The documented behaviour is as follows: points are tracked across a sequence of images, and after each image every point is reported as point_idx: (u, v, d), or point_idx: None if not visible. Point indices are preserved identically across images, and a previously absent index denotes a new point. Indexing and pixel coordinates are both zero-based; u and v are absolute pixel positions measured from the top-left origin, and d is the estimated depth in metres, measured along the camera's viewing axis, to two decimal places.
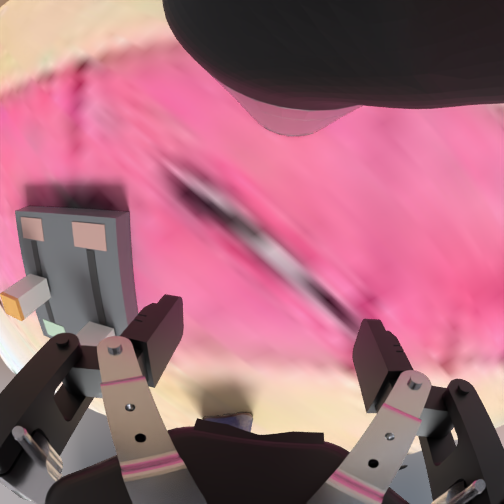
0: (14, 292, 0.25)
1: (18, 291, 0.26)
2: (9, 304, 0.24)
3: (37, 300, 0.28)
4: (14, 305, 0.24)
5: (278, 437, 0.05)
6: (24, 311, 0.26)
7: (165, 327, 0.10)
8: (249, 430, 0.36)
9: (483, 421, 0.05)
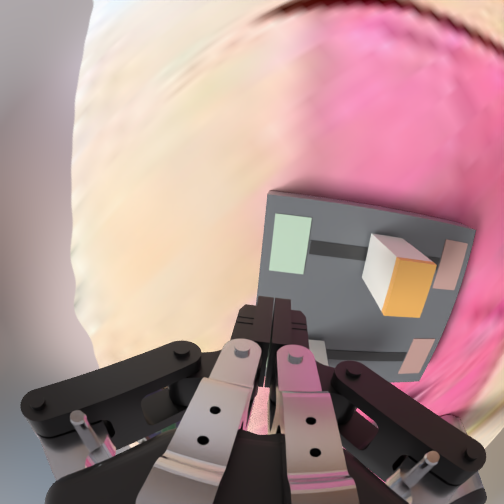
0: None
1: None
2: (416, 291, 0.16)
3: None
4: (412, 311, 0.17)
5: (278, 437, 0.05)
6: None
7: None
8: None
9: (394, 396, 0.06)
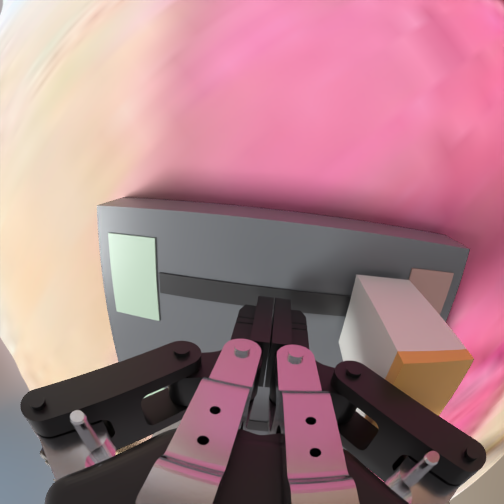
0: None
1: None
2: (426, 404, 0.07)
3: None
4: None
5: (278, 437, 0.05)
6: None
7: None
8: None
9: (394, 396, 0.06)
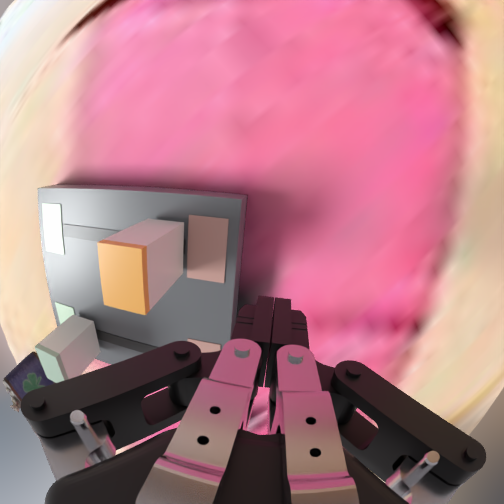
0: (153, 276, 0.16)
1: (157, 279, 0.16)
2: (126, 280, 0.14)
3: None
4: (132, 305, 0.15)
5: (278, 437, 0.05)
6: None
7: None
8: None
9: (394, 396, 0.06)
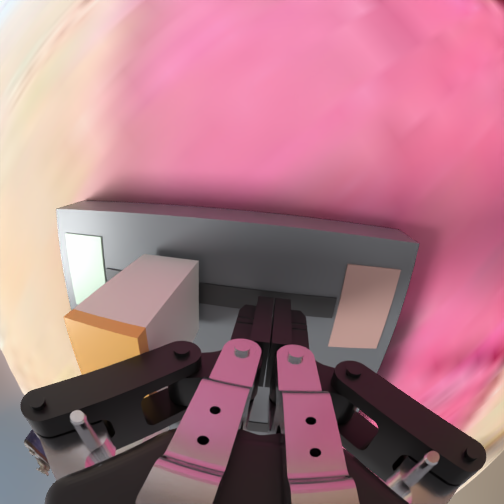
0: None
1: None
2: None
3: None
4: None
5: (278, 437, 0.05)
6: None
7: None
8: None
9: (394, 396, 0.06)
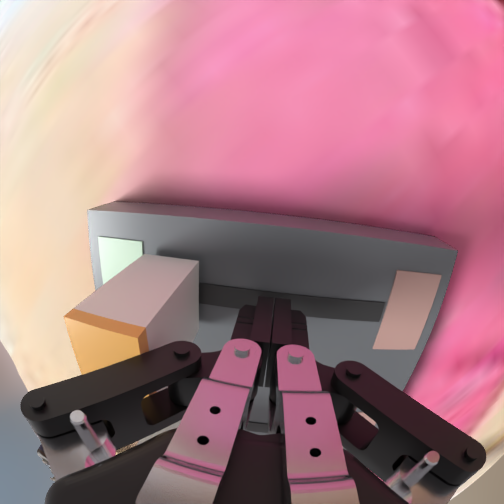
0: None
1: None
2: None
3: None
4: None
5: (278, 437, 0.05)
6: None
7: None
8: None
9: (394, 396, 0.06)
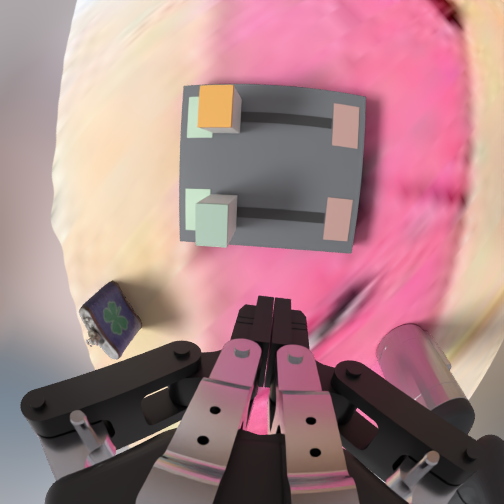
0: (234, 109, 0.23)
1: (234, 114, 0.24)
2: (219, 105, 0.22)
3: (216, 130, 0.26)
4: (221, 122, 0.22)
5: (278, 437, 0.05)
6: (209, 128, 0.24)
7: None
8: (132, 338, 0.40)
9: (394, 396, 0.06)
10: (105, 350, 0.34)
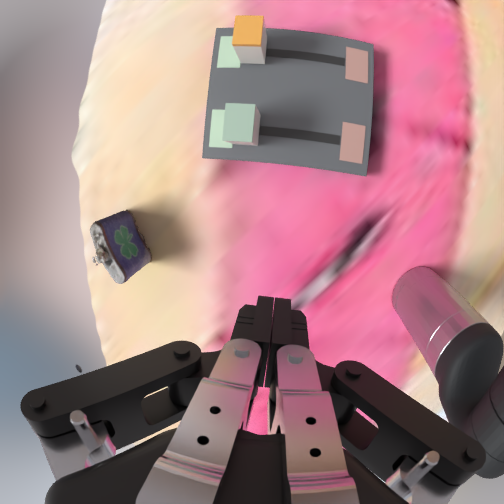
0: (262, 35, 0.23)
1: (263, 40, 0.24)
2: (251, 29, 0.22)
3: (246, 56, 0.27)
4: (253, 40, 0.23)
5: (278, 437, 0.05)
6: (241, 47, 0.24)
7: None
8: (140, 268, 0.40)
9: (394, 396, 0.06)
10: (111, 273, 0.34)
